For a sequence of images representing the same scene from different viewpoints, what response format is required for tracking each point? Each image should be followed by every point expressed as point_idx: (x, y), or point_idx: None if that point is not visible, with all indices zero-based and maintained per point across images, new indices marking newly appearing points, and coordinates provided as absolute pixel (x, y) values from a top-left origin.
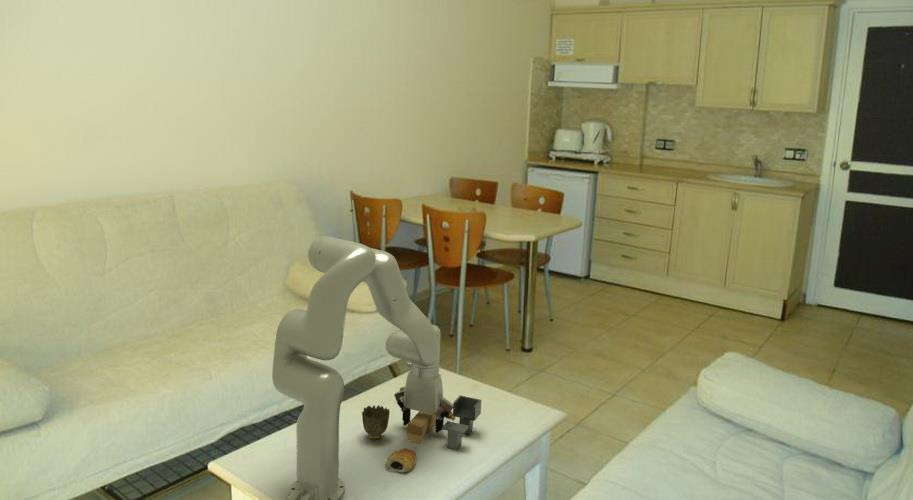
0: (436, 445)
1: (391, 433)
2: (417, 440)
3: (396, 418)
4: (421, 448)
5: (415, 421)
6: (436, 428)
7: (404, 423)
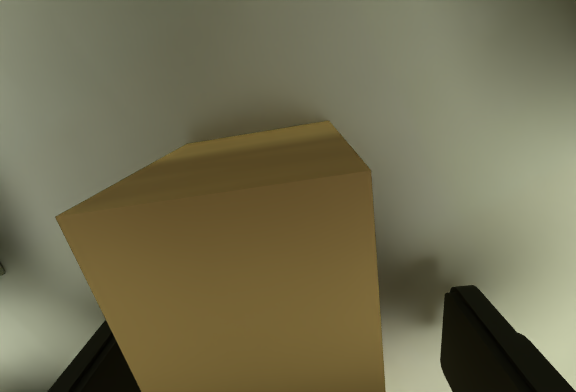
0: (56, 186)
1: (530, 147)
2: (214, 141)
3: (568, 367)
4: (112, 53)
5: (283, 322)
6: (90, 353)
7: (472, 299)
